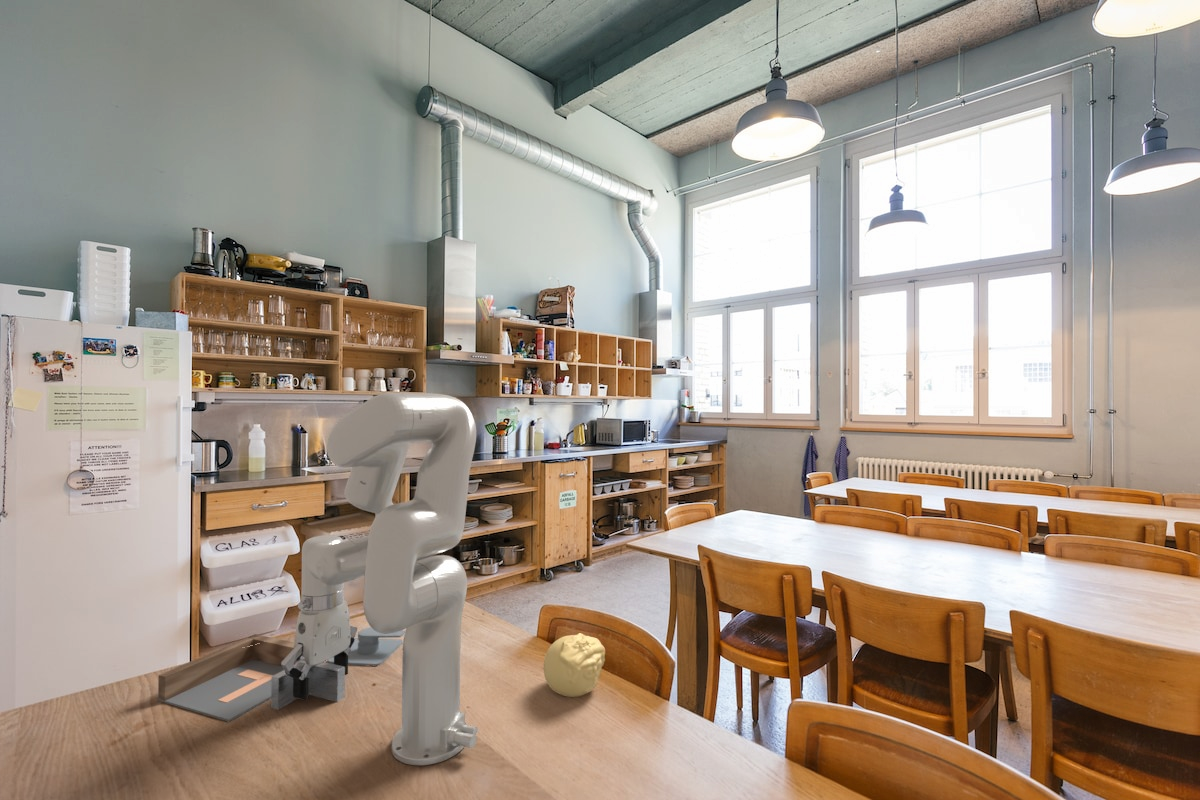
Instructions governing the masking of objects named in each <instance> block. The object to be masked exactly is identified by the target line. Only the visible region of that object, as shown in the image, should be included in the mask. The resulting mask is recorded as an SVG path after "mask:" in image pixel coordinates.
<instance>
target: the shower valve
mask: <svg viewBox="0 0 1200 800" xmlns="http://www.w3.org/2000/svg"><path fill="white" fill-rule="evenodd" d="M405 631H406V630H401V631H398V632H396V633H391V634H382V633H379V632H376V631H375V630H374V629H372V628H371V627H366V628H363V629H360V630H359V631H357V633H358V634H357V637H354V639H355V640H354V643H353V645H352V646H351V648H350V649H351V652H350V654H348V666H360V665H374V666H373V667H376V666H375V665H379V666H381V665H382V664H383V663H384V662H385V661H386V660H387V659H388V658H390V657H391V655H393V653H395V652H396V651H397V650H398V648H400V647H401V646H402V645H403V640H402V639H398V638H401V637H404V635H405ZM393 638H394V639H393ZM395 638H397V639H395ZM327 663H330V664H334V657H332V658H330V659H328V660H327ZM380 664H381V665H380Z"/></svg>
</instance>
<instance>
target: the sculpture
mask: <svg viewBox="0 0 1200 800" xmlns="http://www.w3.org/2000/svg"><path fill="white" fill-rule="evenodd" d="M605 655H606V649H605V647H604V645H603V644H602V642H601V641H600V640H599V639H598V638H596V637H593V636H589V635H585V634H583V633H580V632H579V633H577V634H571V635H564V636H561V637H560V638H558V639H556V640H555V641H554V642H553V643H552V644H550V646H549V648H548V649H547V652H546V653H545V656H544V660H543V674H544V678H545V681H546V683H547V685H548V687H549V688H550V689H551V690H552V691H553V692H555V693H556V694H559V695H560V696H561V695H562V696H564V697H568V698H578V697H582V696H584V695H587V694H588V693H591V692H592V691H593V690H594V689H595V688H596V687H597V684H598V679H599V677H600V674H601V672H602V671H601V670H602V667H603V666H605V665H604V664H605V661H606V659H605Z"/></svg>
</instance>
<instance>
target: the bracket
mask: <svg viewBox="0 0 1200 800" xmlns="http://www.w3.org/2000/svg"><path fill="white" fill-rule="evenodd" d="M294 666H295V665H294ZM303 667H304V665H303V664H302V666H301V668H300V670H299V671H302V669H303ZM306 677H307V678H308V679H309V684H308V696H314V697H317V698H321V699H325V700H327V701H328V700H329V701H333V702H336V703H338V702H340V701H341V700H343V699H344V698H345V696H346V695H345V693H346V692H345V691H346V689H345V687H346V682H345V681H346V675H345V667H344V666H339V665H335V664H330V663H328V662H327V661H324V662H323V663H321V664H319V665H316V666H311V667H310V669H309V671H308V673H307V675H306ZM297 699H298V700H299V698H296V697H294V696H293V678H291V677H290V676H289V675H287V674H286V673H285V670H283V671H281V672H279V673H277V674H275V675H274V676H272V685H271V699H270V700H271V701H270V703H271V704H270V706H271V709H274V710H278V711H279V710H281V709H282V708H284V707H286V706H287V705H289V704H291V703H292V702H294V701H296V700H297Z"/></svg>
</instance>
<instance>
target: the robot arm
mask: <svg viewBox="0 0 1200 800" xmlns="http://www.w3.org/2000/svg"><path fill="white" fill-rule="evenodd" d="M427 442H428V443H431V447H430V448H429V450H428V451H427V452H426V454H425V455H424V457H423V459H422V461H421V463H420V466H419V468H418V472H417V476H416V487H415V488H416V489H415V492H414V497H413V498H412V499H411V500H407V501H402V502H397V503H394V502H393V498H394V495H395V494H394V493H395V491H396V489H397V488H396V487H397V484H398V483H399V479H400V476H401V473H402V470H403V467H404V465H405V461H406V458H407V455H408V452H409V449H410V446H411V444H419V443H427ZM326 443H327V444H326V451H327V456H328V458H329V460H330V461H331V463H332V464H334V465H335V466H337V467H339V468H343V469H344V468H345V469H346V468H347V469H349V468H350V473H349V475H348V479H347V481H346V485H345V488H344V492H343V493H344V497H345V499H346V501H347V502H348V503H349V504H351V505H352V506H354V507H355V508H358V509H360V510H362V511H366V512H370V513H373V514H375V518H374V520H372V524H371V525H370V529H369V534H368V535H365V536H362V537H358V538H353V539H349V540H345V541H344V540H343V538H342V537H341V536H339V535H335V534H334V535H331V534H326V535H325V534H324V535H315V536H312V537H310V538H308V539H306V540H304V542H303V544H302V547H301V591H300V593H301V598H300V599H301V601H300V602H298V603H297V607H298V609H299V611H298V615H297V620H296V621H297V622H296V626H295V631H294V632H295V634H294V641H293V642H294V649H293V650H292V651H291V652H290V654H289V655H288V656H287V657H286V658H285V659H284V660H283V661H282V663H281V665H282V667H283V669H284V670H285V673H286V674H287V675H289V676H290V677H291V678H293V696H294V697H296V698H298V700H299V699H300V700H304V701H305V700H307V699H308V697H309V695H308V684H309V679H308V678H307V677H306V675H307V673H308V671H309V669H310V667H311V666H316V665H319V664H321V663H323V662H327V661H328V659H330V658H332V657H334V664H335V665H339V666H344V667H345V676H347V675H348V674H349V665H348V654H350V652H351V649H350V648H351V646H352V645H353V643H354V640H355V638H356V634H357V633H358V626H353V625H351V620H350V619H351V618H350V612H349V607H348V606H349V605H348V603H347V602H348V601H347V600H345V599H344V593H345V592H344V589H345V587H344V584H345V583H348V582H350V581H354V580H356V579H360V578H363V577H364V580H363V590H362V591H363V593H362V594H363V595H362V603H363V605H362V606H363V607H362V608H363V612H364V616H365V619H366V622H367V623H368V625H369V626H370V628H372V629H374V630H375V631H376V632H379V633H382V634H391V633H396V632H398V631H401V630H403V631H405V633H404V635H403V640H402V655H401V656H402V660H401V661H402V662H401V663H402V664H401V665H402V667H401V669H402V671H401V672H402V673H401V678H402V680H401V728H400V729H398V730H397V732H396V733H395V734H394V735H393V738H392V741H391V753H392V755H393V757H394V758H395V759H396V760H398V761H399V762H401V763H404V764H407V765H411V766H429V765H435V764H437V763H440V762H441V763H442V762H444V761H446V760H449V759H450V758H452V757H454V756H455V755H457V754H458V753H460V752H461V750H462V749H463V748H469V749H473V748H474V746H475V745H476V742H477V734H478V731H479V730H478V729H479V728H478V727H477V726H476V725H475V726H474V725H471V724H470V725H469V724H467V723H466V713H465V712H462V711H460V710H461V709H460V708H461V707H460V705H461V701H460V700H461V698H460V697H461V642H462V641H461V638H462V637H461V635H462V634H461V632H462V619H463V612H464V607H465V601H466V596H467V590H468V589H467V588H468V578H467V577H468V576H467V573H466V570H465V568H464V566H463V563H461V562H460V561H459V560H457V558H455V557H453V556H451V555H444V554H441V555H437V554H440V553H443V552H446V551H448V550H452V549H453V548H454V547H456V546H457V545H458V544H459V543H460V542H461V540H462V538H463V535H464V530H465V521H466V514H467V513H466V512H467V504H468V495H469V494H468V493H469V484H470V482H469V480H470V473H471V465H472V462H473V457H474V453H475V448H476V443H477V426H476V421H475V419H474V416H473V413H472V412H471V409H469V407H468V406H467V405H466V403H465V402H463V401H462V400H461V399H459V398H456V397H454V396H451V395H449V394H448V395H447V394H442V393H433V392H432V393H431V392H385V393H381V394H378V395H377V394H376V395H375V396H373V397H371V398H369V399H368V400H366V401H365V402H363V403H362V404H361V405H358V407H356V408H355V409H353V410H351V411H350V412H349V413H346V415H344V416H343V417H341V419H339V421H337V422H336V424H334V426H333V427H332V429H331V430H330V433H329V434H328V438H327V442H326ZM294 661H295V662H296V664H295V666H294ZM302 664H303V665H304V667H303V669H302V671H299V670H300V668H301V666H302Z"/></svg>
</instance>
